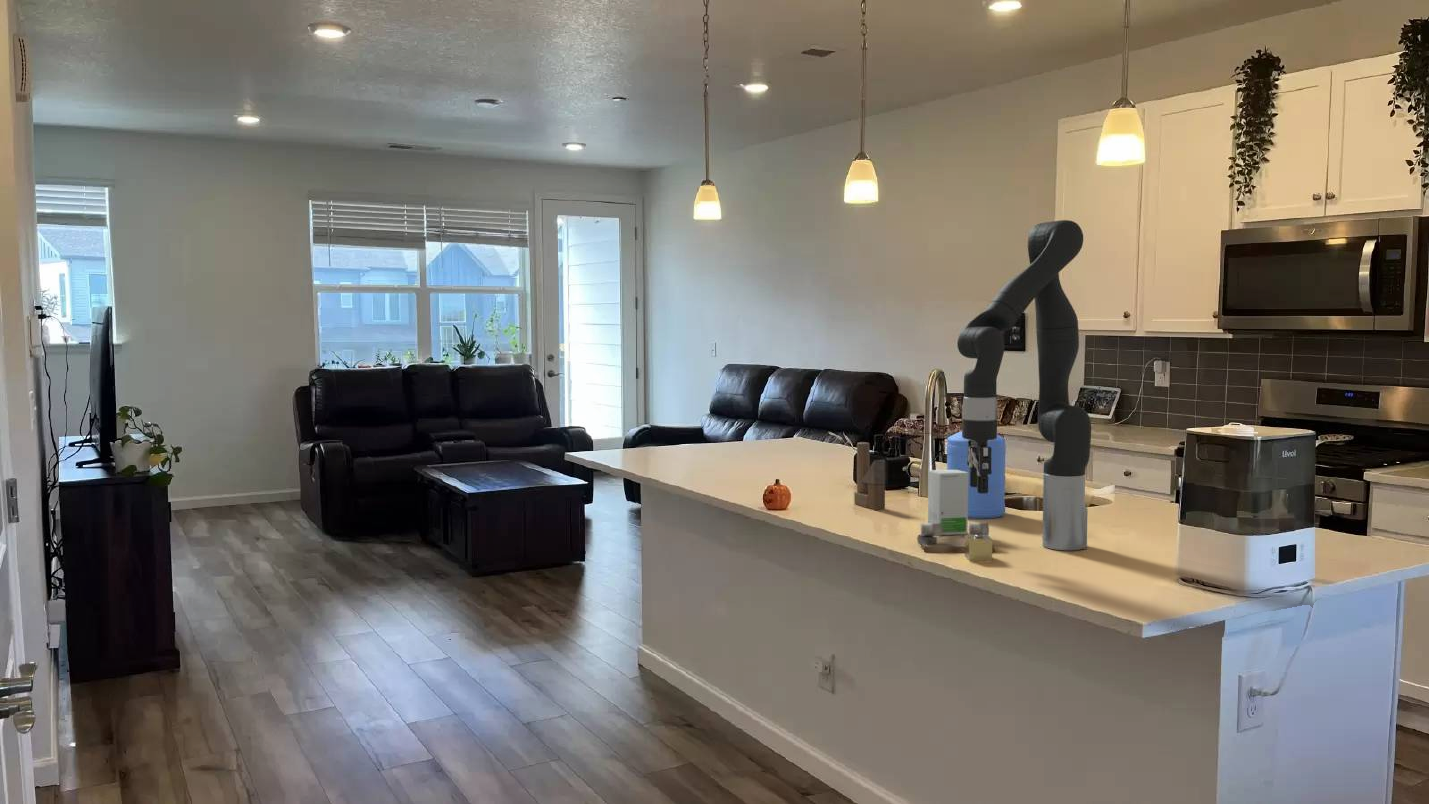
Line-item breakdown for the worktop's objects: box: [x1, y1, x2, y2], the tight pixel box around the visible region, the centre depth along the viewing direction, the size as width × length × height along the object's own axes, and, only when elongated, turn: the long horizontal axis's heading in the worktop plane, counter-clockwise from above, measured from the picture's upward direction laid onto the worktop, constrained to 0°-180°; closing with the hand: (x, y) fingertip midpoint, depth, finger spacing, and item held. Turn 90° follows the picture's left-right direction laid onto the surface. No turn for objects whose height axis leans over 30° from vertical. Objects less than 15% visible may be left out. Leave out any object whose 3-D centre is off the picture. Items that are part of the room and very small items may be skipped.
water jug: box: [946, 430, 1007, 520], centre depth 280 cm, size 16×16×28 cm
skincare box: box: [927, 469, 969, 536], centre depth 258 cm, size 8×7×16 cm
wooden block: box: [853, 441, 886, 511], centre depth 293 cm, size 4×11×18 cm, turn 24°
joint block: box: [964, 534, 993, 562], centre depth 230 cm, size 5×5×5 cm
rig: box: [916, 522, 996, 553], centre depth 242 cm, size 16×11×6 cm, turn 87°
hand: (978, 489), depth 229 cm, fingers open, 8 cm apart
